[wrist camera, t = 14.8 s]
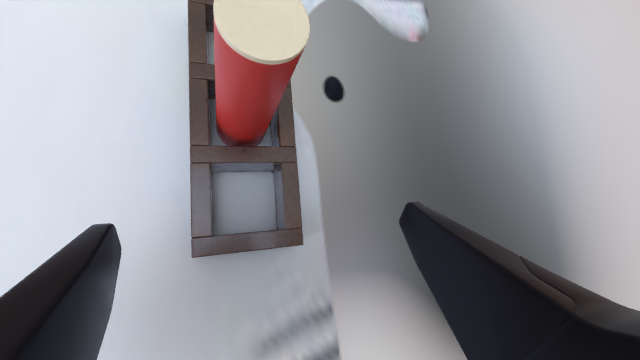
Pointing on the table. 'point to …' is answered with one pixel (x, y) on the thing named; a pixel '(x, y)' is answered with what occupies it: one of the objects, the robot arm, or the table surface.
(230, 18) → the red cylinder
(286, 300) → the table surface
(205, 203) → the brown wooden rack
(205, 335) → the table surface
